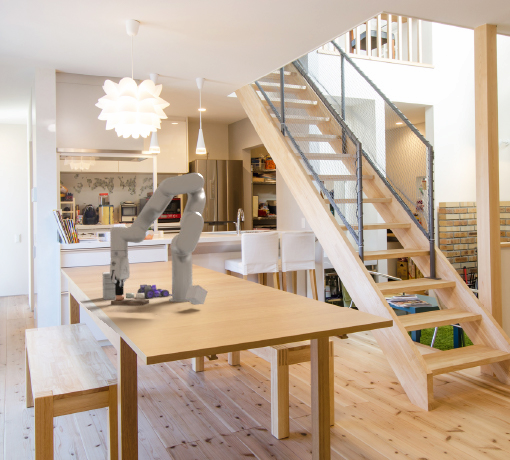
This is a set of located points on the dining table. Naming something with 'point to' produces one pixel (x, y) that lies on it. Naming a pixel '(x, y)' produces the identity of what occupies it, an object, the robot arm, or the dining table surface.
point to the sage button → (129, 295)
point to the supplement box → (108, 287)
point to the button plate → (129, 302)
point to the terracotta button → (119, 297)
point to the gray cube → (196, 294)
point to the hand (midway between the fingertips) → (119, 295)
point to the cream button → (140, 295)
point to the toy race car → (153, 291)
